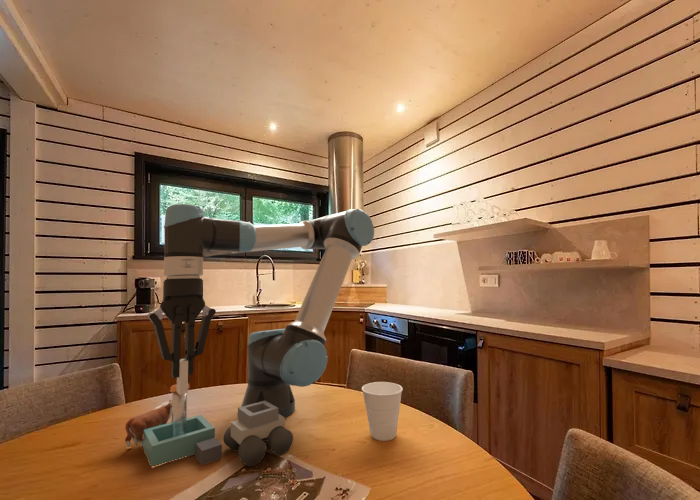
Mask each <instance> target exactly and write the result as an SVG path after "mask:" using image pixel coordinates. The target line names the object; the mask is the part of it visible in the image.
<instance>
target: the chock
mask: <svg viewBox="0 0 700 500" xmlns="http://www.w3.org/2000/svg"><path fill="white" fill-rule="evenodd" d="M222 447H223V444H222V443H221V442H220V441H219V440H218V439H217V438H216V436H215V437H214V438H211V439H208V440H205V441H202V442H198V443H196V452H195V454H194V455H195V459H196V458H197V459H198V460H197V459H196V460H197V462H198V463H199V464H200V465H201V466H203V465H204V466H205V465H207V464H210V463H213V462H215V461H218V460H222V457H223V453H222V449H223V448H222Z"/></svg>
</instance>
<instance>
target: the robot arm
mask: <svg viewBox="0 0 700 500" xmlns="http://www.w3.org/2000/svg"><path fill="white" fill-rule="evenodd" d="M165 209H166V210H165V215H164V225H163V228H164V230H163V231H164V235H163V236H164V255H163V257H164V258H163V276H164V277H166V278H165V279H164V280H163V284H162V285H163V287H162V288H163V289H162V292H163V294H162V295H163V296H162V301H161V303H160V306H159V308H158V309H156V310H155V311H153V312H149V313H148V314H147V318H148V320H149V321H150V322H151V324H152V326H153V329H154V332H155V337H156V341H157V344H158V350H159V353H160V356H161V358H162V359H163V360H165V361H170V362H171V372H170V373H171V377H172V378H173V379H176V384H177V393H178V394H179V395H182V394H186V393H187V394H188V391H189V390H188V384H189V376H192V375H193V373H194V359H196V357H197V356H201V355H202V354H204V353H203V352H204V349H205V345H206V341H207V338H208V335H209V334H208V333H209V330H210V325H211V322H212V319H213V317H214V316H215V314H216V313H217V311H216V309H215V308H211V307H209V306H208V305H206V302H205V299H204V280H203V278H201V277H202V276H203V275H204V258H207V257H212V256H221V255H228V254H241V253H251V252H259V251H260V252H262V251H270V250H272V251H273V250H279V249H280V250H281V249H284V250H285V249H293V248H302V249H303V250H325V251H324V253H323V254H322V258H321V260H320V262H319V264H318V267H317V268H316V272H315V273H314V275H313V278H312V281H311V283H310V285H309V287H308V289H307V291H306V294H305V297H304V298H303V301H302V304H301V305H300V308H299V310H298V312H297V315H296V317H295V319H294V321H292V322H290V323H288V324H286V326H285V327H284V328H279V329H278V328H276V329H267V330H260V331H254V332H251V333H250V334H249V335H248V340H247V346H246V347H247V387H246V390H245V393H244V396H243V399H242V403H241V405H240V407H243V406H246V405H250V404H254V403H258V402H261V401H267V402H269V403H270V404H272V405H274V406H276V407H277V408H278V414H280V415H282V416H283V417H285V418H286V417H289V416H290V415H292V414H293V413H294V411H296V399H295V397H294V394H293V391H292V387H291V386H293V387H294V386H296V387H299V388H300V387H302V388H304V387H308V386H310V385H312V384H314V383H316V382H317V381H318V380H319V379H320V378H321V377H322V376H323V374H324V372H325V370H326V367H327V364H328V355H327V354H328V352H327V349H326V347H325V345H326V342H327V338H326V336H325V334H324V333H325V329H326V327H327V324H328V322H329V320H330V317H331V314H332V311H333V309H334V307H335V304H336V302H337V300H338V296H339V294H340V291H341V289H342V286H343V283H344V281H345V278H346V276H347V273H348V270H349V268H350V265H351V262H352V260H354V259H357V258H358V257H359V256H360V252H361V251H362V248H363V247H366V246H368V245H369V244H371V243H372V242H373V240H374V237H375V226H374V224H373V220H372V219H371V217H370V216H369V214H368V213H367V212H366V211H365V210H362V208H361V209H360V208H352V209H351V208H350V209H349V208H348V209H347V210H345V211H341V212H337V213H333V214H329V215H328V214H327V215H325V216H322V217H319V218H315V219H309V220H307V219H306V220H301V221H300V222H299V223H290V224H289V223H287V224H266V225H265V224H262V225H261V224H260V225H259V224H258V225H254V224H252V222H250V221H249V222H247V221H243V220H240V219H239V220H233V219H223V218H221V219H220V218H214V217H213V218H212V217H208V216H205V211H204V210H205V209H204V208H203V207H201V206H199V205H196V204H195V205H194V204H188V203H187V204H186V203H185V204H184V203H182V204H181V203H176V204H172V205H169V206H168V207H167V208H165ZM163 314H164V315H165V317H166V318H167V319H168V320H169V321H170V323H171V325H170V326H171V343H170V344H171V346H170V347H171V348H169V344H168V340H167V336H166V332H165V329H164V325H163V322H162V320H163V318H164V315H163ZM200 314H201V315H202V318H201V320H200V321H201V322H200V325H199V328H198V331H197V332H198V333H197V337H196V340H195V326H196V319H197V318H198V316H199V315H200ZM183 323H184V358H181V348H182V346H181V345H182V344H181V343H182V341H181V340H182V339H181V338H182V337H181V336H182V324H183ZM170 349H171V350H170Z"/></svg>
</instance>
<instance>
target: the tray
mask: <svg viewBox="0 0 700 500" xmlns="http://www.w3.org/2000/svg"><path fill="white" fill-rule="evenodd" d="M171 429H172V421H170V422H167V424H163V425H159V426H156V427H152V428H148V429H144V430H143V448H144V451H145V453H146V455H147V458H148V460H149V462H150V464H151V467H152V466H156V465H159V464H162V463H165V462H169V461H172V460H175V459H179V458H182V457H185V456H188V457H190V456H189V455H191V456H193V455H192V454H194V455H195V452H196V443H198V442H202V441H205V440H208V439H211V438H214V437H215V438H216V433H215V432H216V428H215V426H213V424H212V423H210V422H209V421H208V419H206V418H205V417H204V416H203V415H202V414H198V415H195V416H194V415H193V416H190V417H187V420H186V434H183V435H180V436H176V437H173V438H171ZM143 448H142V449H143ZM144 451H143V452H144ZM145 453H144V454H145ZM147 458H146V459H147ZM185 458H186V457H185ZM182 459H183V458H182ZM148 460H147V461H148ZM179 460H180V459H179ZM149 462H148V463H149ZM150 464H149V465H150ZM151 467H150V468H151Z"/></svg>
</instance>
